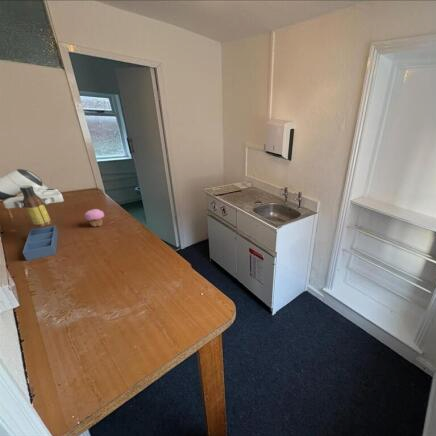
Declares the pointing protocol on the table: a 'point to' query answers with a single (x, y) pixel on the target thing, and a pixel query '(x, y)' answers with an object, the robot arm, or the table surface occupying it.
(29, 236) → the tray
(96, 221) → the cupcake
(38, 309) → the table surface
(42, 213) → the sauce bottle
